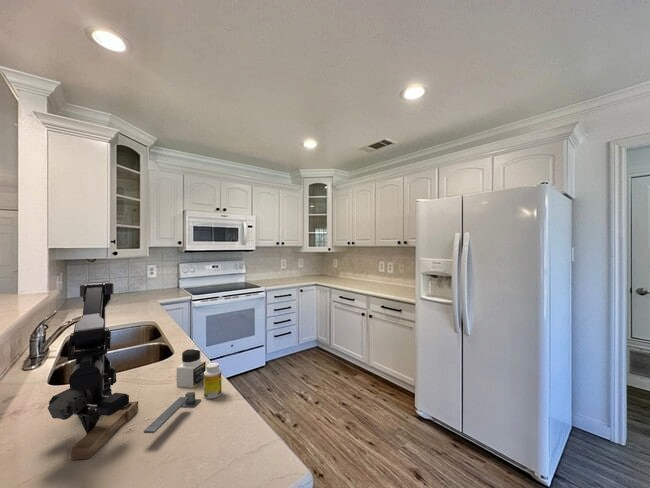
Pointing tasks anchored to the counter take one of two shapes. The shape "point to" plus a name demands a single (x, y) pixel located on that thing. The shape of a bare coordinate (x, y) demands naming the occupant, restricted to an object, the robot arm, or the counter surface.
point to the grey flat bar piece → (173, 411)
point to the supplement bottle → (212, 381)
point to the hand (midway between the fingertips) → (89, 433)
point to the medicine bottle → (191, 369)
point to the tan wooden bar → (102, 432)
